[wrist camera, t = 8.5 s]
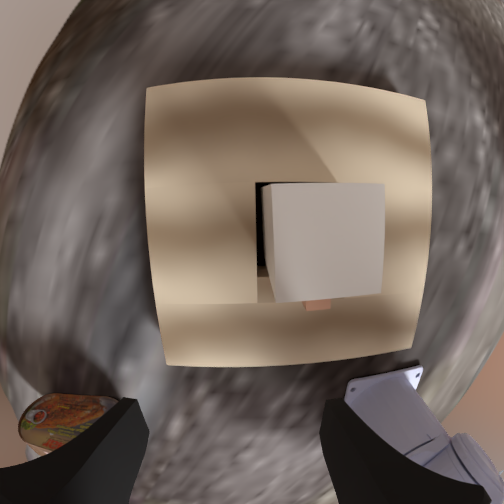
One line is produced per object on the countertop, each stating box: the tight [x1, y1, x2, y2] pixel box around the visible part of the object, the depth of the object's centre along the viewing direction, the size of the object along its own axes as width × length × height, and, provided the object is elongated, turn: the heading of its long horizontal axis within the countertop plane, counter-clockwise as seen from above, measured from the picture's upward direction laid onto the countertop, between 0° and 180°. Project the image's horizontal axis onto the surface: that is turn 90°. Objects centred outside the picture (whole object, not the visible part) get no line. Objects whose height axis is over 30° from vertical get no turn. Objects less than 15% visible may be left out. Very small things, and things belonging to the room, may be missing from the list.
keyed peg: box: [261, 183, 385, 311], centre depth 14 cm, size 4×6×8 cm
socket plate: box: [144, 77, 432, 367], centre depth 16 cm, size 18×18×2 cm
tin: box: [18, 393, 118, 456], centre depth 17 cm, size 15×3×8 cm, turn 102°
